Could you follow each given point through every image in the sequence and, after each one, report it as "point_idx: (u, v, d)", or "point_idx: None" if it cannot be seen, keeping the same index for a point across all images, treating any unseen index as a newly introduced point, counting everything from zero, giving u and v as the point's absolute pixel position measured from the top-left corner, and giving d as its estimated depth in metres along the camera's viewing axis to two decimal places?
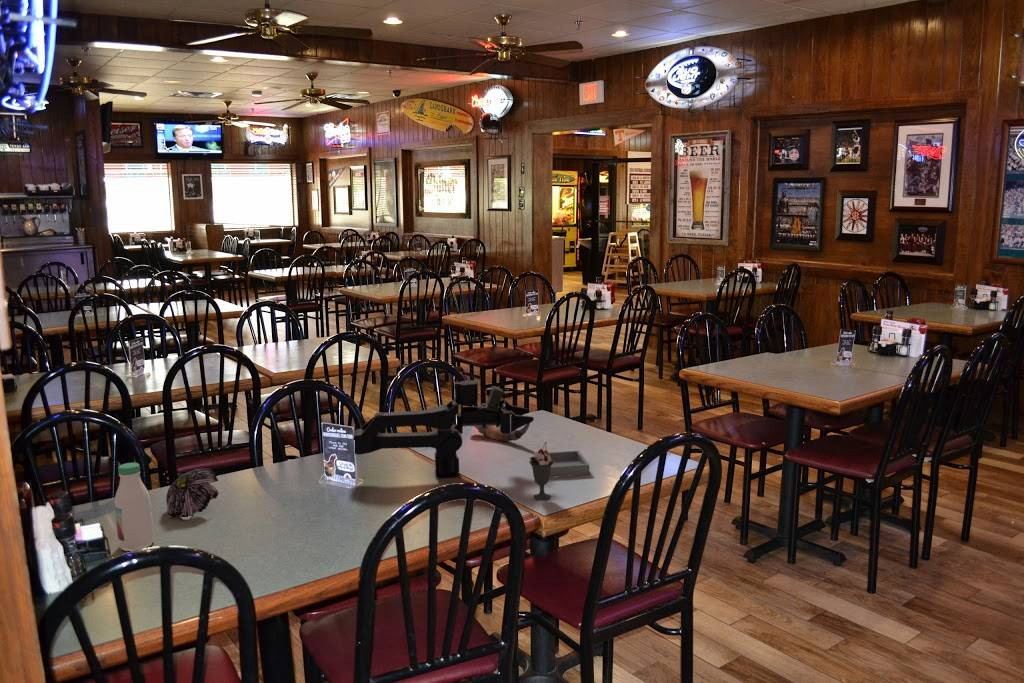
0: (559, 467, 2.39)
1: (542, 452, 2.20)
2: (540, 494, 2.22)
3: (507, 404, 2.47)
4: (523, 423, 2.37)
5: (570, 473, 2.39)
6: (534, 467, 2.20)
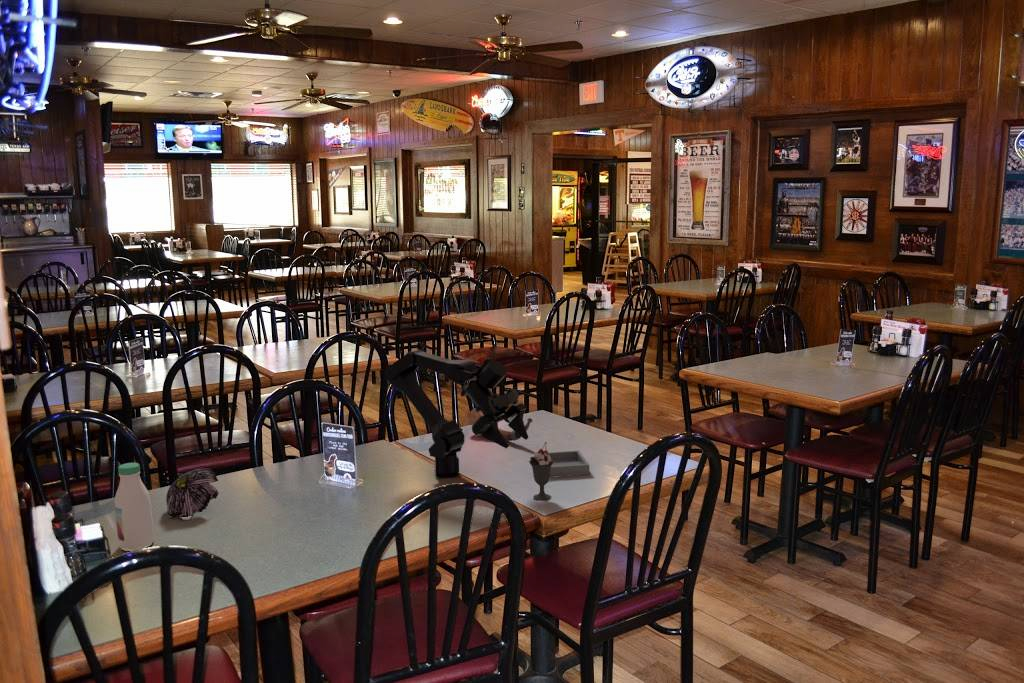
0: (559, 467, 2.39)
1: (542, 452, 2.20)
2: (540, 494, 2.22)
3: (518, 416, 2.30)
4: (496, 441, 2.22)
5: (570, 473, 2.39)
6: (534, 467, 2.20)
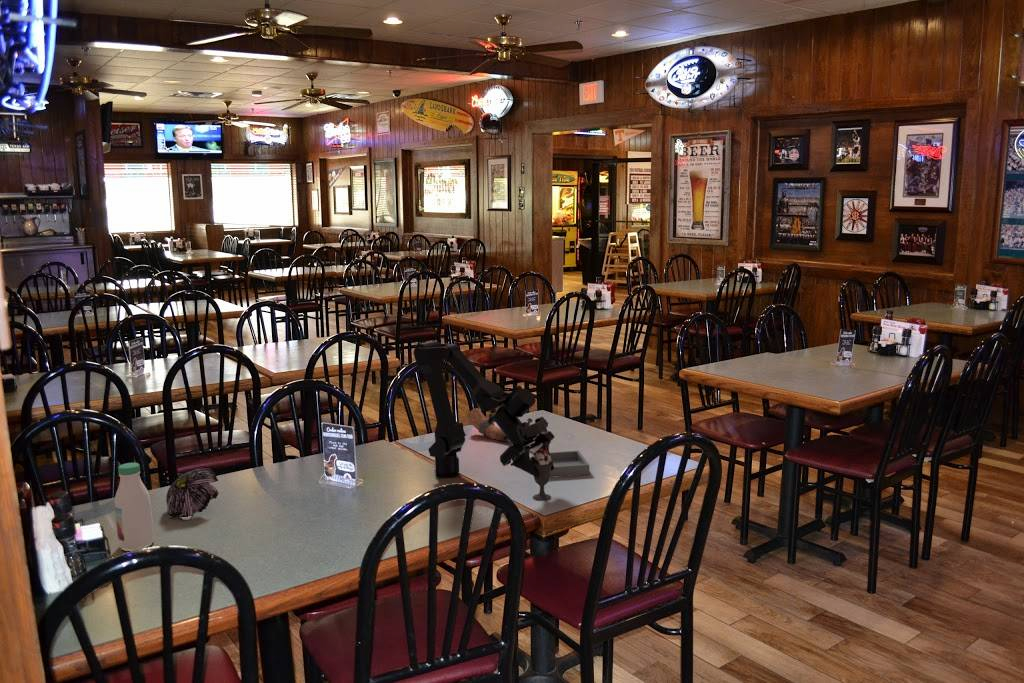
0: (559, 467, 2.39)
1: (542, 452, 2.20)
2: (540, 494, 2.22)
3: (544, 446, 2.25)
4: (527, 470, 2.19)
5: (570, 473, 2.39)
6: None
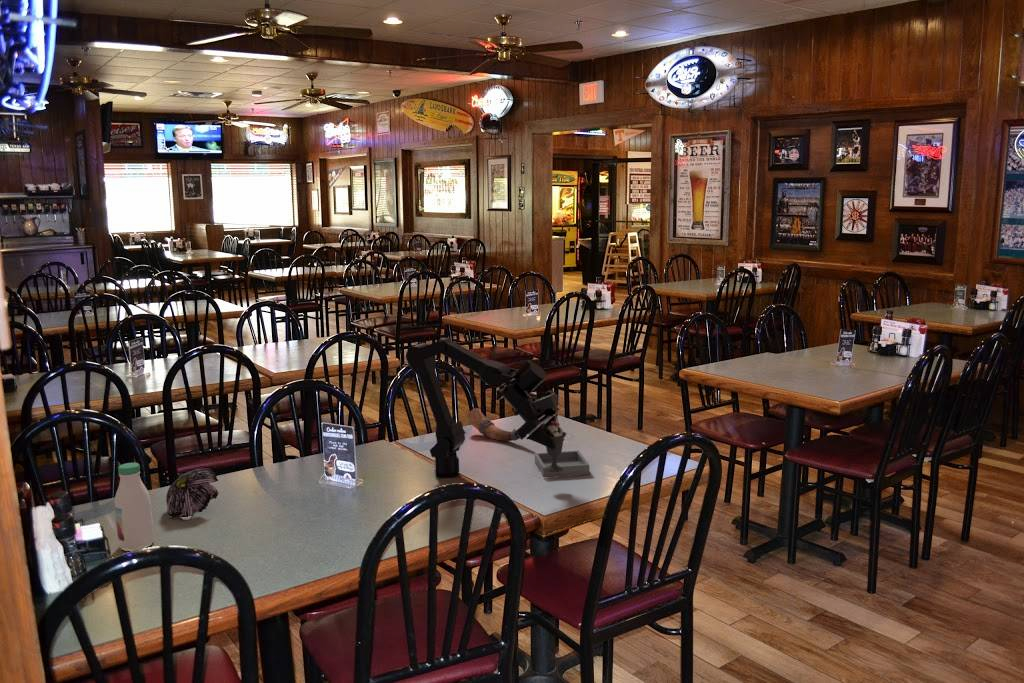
0: None
1: (555, 424, 2.26)
2: (553, 466, 2.27)
3: (553, 419, 2.30)
4: (543, 443, 2.23)
5: (570, 473, 2.39)
6: None
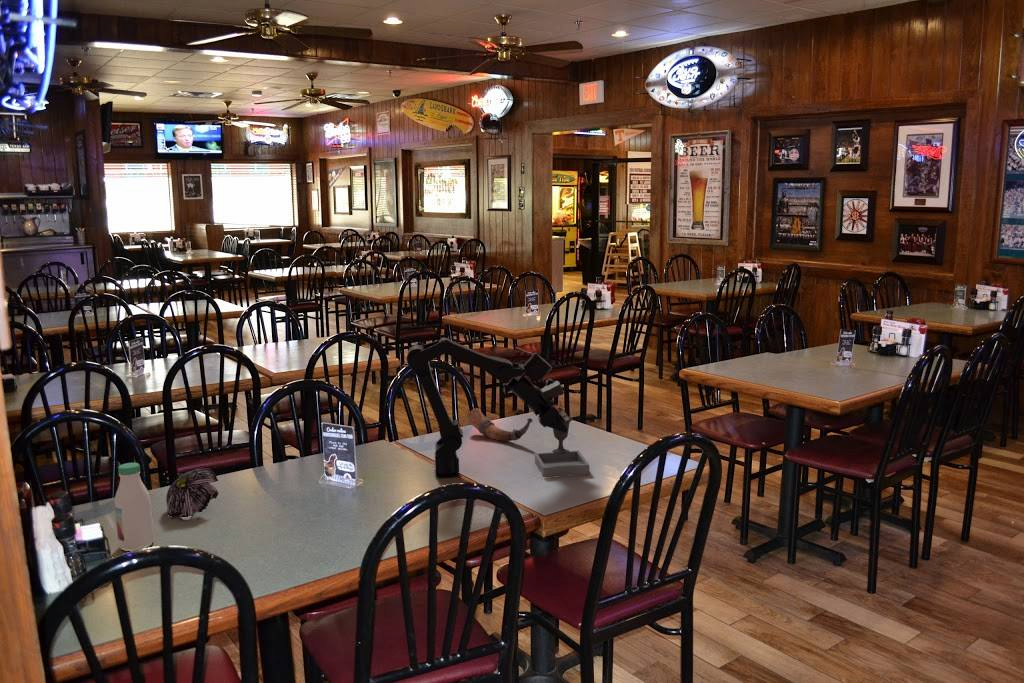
0: (559, 467, 2.39)
1: (562, 409, 2.43)
2: (561, 448, 2.44)
3: None
4: (557, 428, 2.39)
5: (570, 473, 2.39)
6: None
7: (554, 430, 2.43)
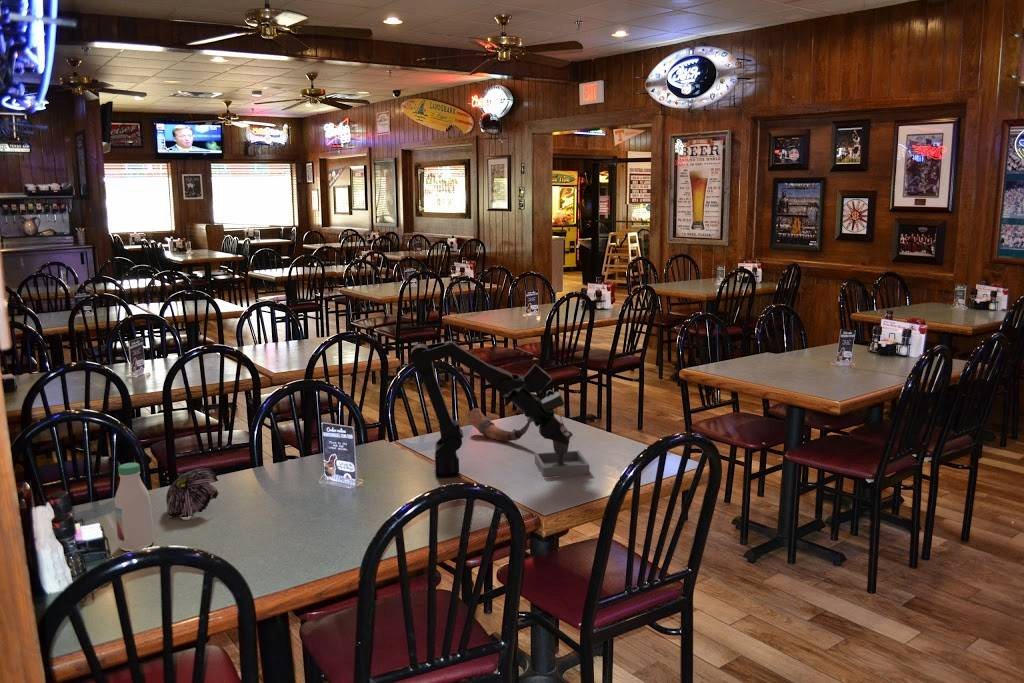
0: (559, 467, 2.39)
1: (562, 425, 2.43)
2: (561, 463, 2.45)
3: (552, 415, 2.48)
4: (559, 440, 2.38)
5: (570, 473, 2.39)
6: None
7: (554, 445, 2.43)
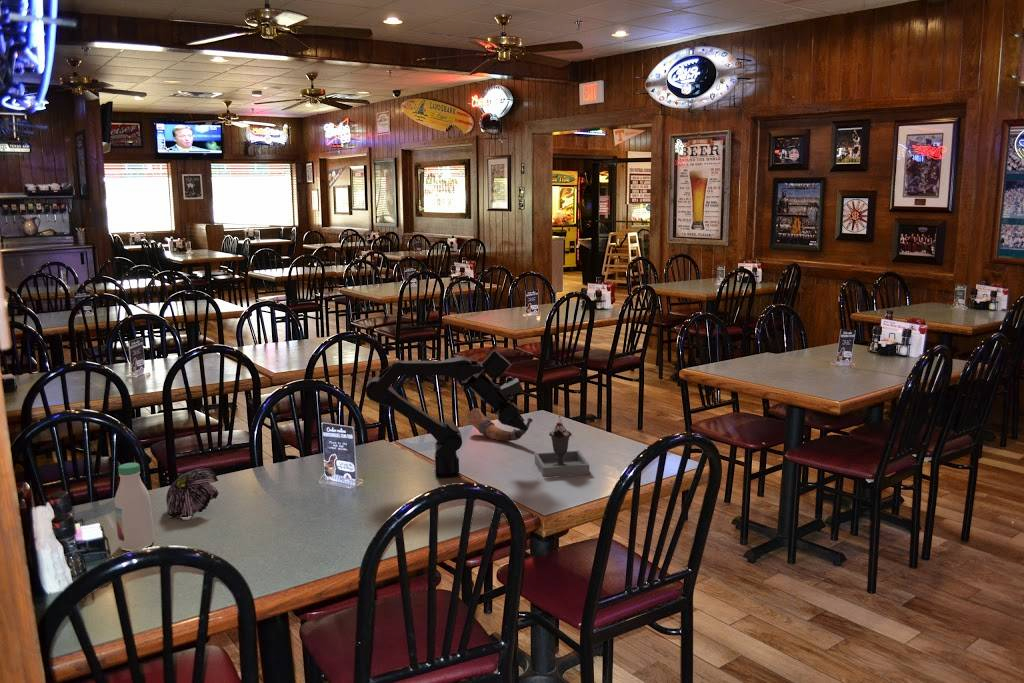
0: (559, 467, 2.39)
1: (561, 425, 2.43)
2: (561, 463, 2.45)
3: (512, 402, 2.47)
4: (517, 426, 2.37)
5: (570, 473, 2.39)
6: (559, 439, 2.42)
7: (554, 445, 2.43)
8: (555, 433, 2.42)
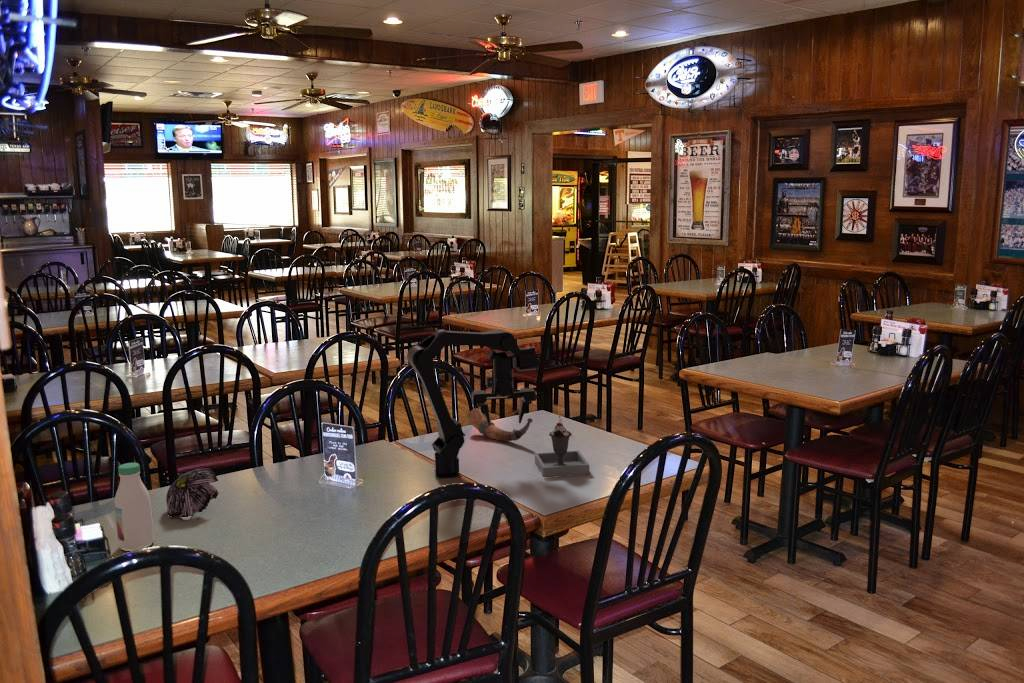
0: (559, 467, 2.39)
1: (561, 425, 2.43)
2: (561, 463, 2.45)
3: None
4: None
5: (570, 473, 2.39)
6: (559, 439, 2.42)
7: (554, 445, 2.43)
8: (555, 433, 2.42)
